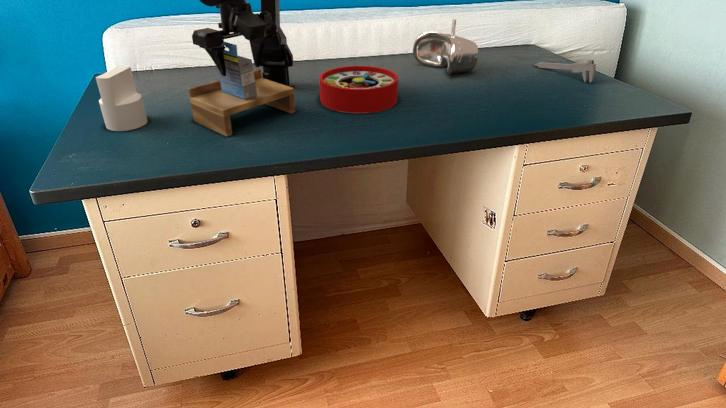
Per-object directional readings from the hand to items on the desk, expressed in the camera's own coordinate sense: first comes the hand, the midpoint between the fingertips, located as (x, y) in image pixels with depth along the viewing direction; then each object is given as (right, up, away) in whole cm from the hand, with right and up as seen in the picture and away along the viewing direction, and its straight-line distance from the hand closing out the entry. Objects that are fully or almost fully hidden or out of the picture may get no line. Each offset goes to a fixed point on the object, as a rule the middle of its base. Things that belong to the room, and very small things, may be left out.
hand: (241, 71), depth 114 cm
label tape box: (-1, -5, +2) cm, 5 cm away
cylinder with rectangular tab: (-27, -12, +2) cm, 30 cm away
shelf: (0, -9, +6) cm, 11 cm away
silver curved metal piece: (+52, +11, +39) cm, 66 cm away
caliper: (+87, +8, +35) cm, 94 cm away
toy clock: (+27, -3, +16) cm, 31 cm away
